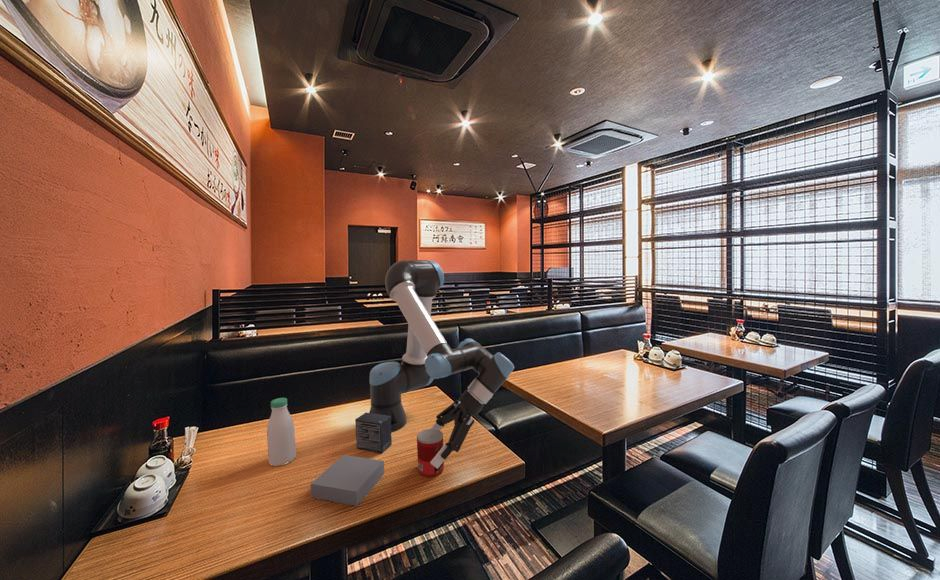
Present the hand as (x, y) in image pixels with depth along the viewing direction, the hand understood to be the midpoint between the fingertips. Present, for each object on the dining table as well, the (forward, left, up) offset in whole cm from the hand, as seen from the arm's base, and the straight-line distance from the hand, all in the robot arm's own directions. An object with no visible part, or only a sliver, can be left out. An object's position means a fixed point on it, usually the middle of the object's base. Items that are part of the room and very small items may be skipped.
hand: (429, 452), depth 101 cm
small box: (-9, -24, -6) cm, 26 cm away
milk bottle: (+5, -49, -6) cm, 49 cm away
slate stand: (+11, -20, -6) cm, 24 cm away
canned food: (-1, 0, -6) cm, 6 cm away
